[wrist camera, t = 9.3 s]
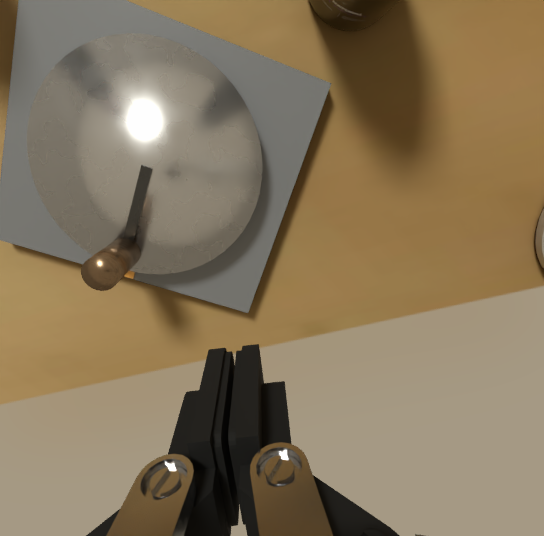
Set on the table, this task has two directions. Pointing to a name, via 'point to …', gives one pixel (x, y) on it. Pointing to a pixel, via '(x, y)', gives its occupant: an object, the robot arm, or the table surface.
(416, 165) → the table surface
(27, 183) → the base plate
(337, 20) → the supplement bottle
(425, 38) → the table surface
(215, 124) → the dial
